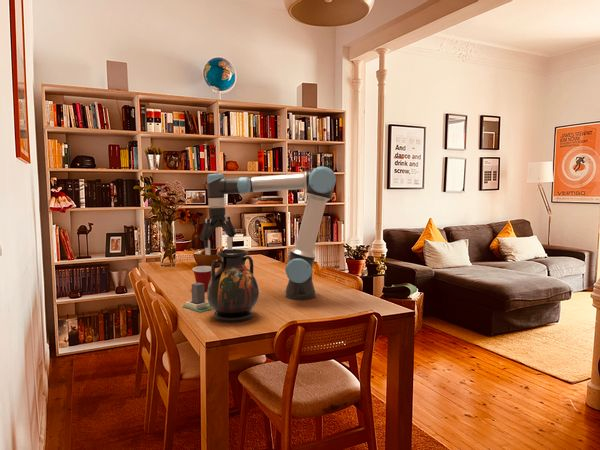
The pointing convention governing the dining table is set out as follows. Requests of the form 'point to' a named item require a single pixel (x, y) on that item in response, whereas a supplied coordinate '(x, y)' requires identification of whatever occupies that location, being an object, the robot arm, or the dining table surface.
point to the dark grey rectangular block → (198, 293)
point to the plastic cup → (203, 275)
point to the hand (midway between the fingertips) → (219, 252)
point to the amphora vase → (232, 287)
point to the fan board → (198, 306)
